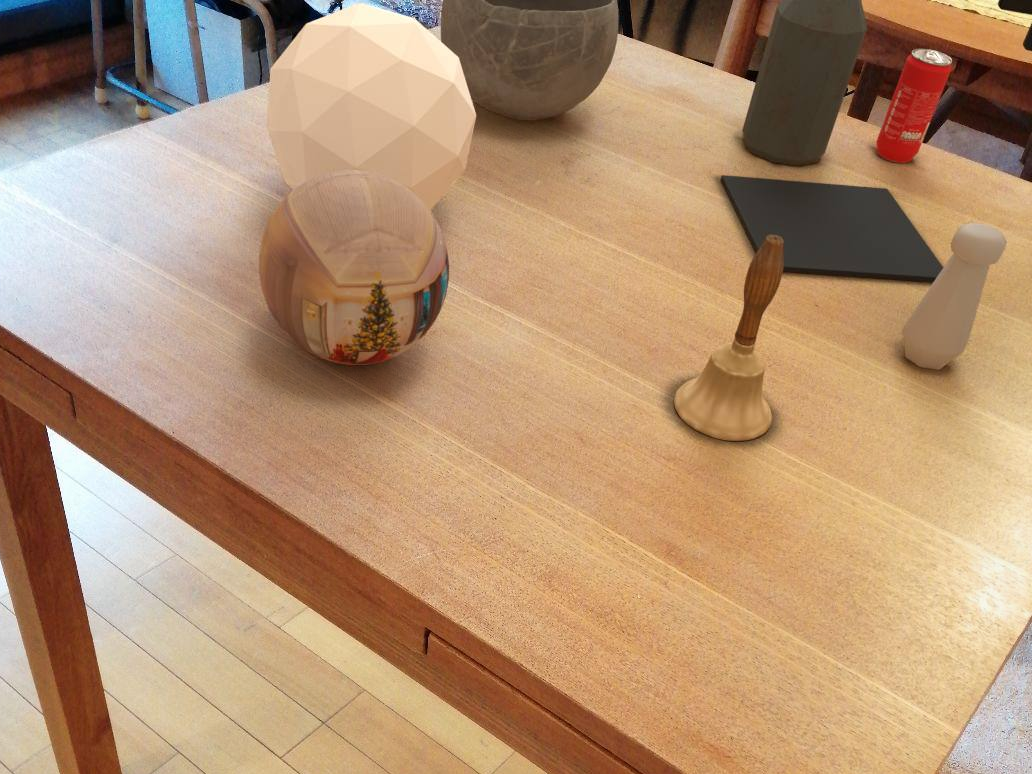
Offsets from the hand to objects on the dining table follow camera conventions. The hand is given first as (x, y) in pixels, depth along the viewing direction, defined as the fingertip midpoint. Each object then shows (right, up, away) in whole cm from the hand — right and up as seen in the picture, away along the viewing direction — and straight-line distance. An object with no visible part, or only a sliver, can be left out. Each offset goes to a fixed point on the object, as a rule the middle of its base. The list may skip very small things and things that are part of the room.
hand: (1028, 30), depth 86 cm
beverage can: (+8, +7, +49) cm, 51 cm away
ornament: (-54, -24, +6) cm, 60 cm away
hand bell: (-23, -30, +5) cm, 38 cm away
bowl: (-39, +12, +46) cm, 62 cm away
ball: (-55, -8, +23) cm, 60 cm away
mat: (-6, -6, +32) cm, 33 cm away
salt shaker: (-2, -23, +16) cm, 28 cm away
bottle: (-7, +7, +47) cm, 48 cm away
